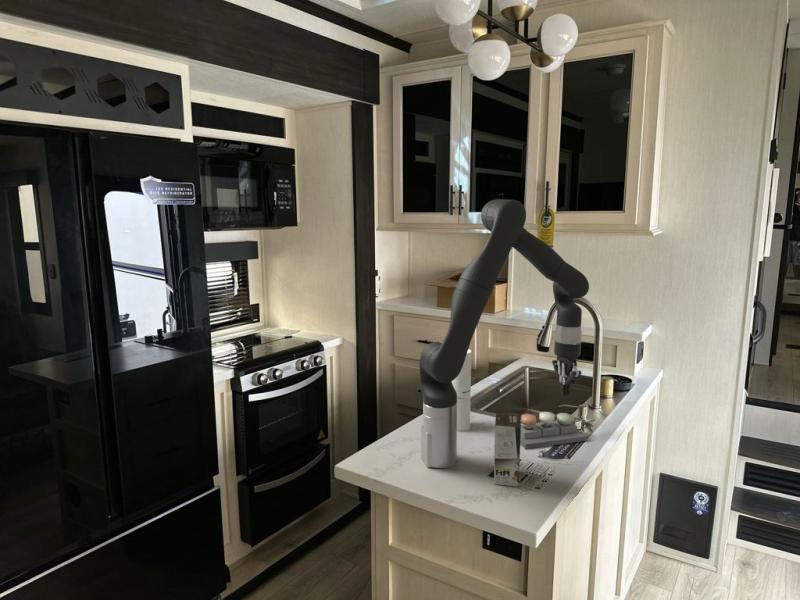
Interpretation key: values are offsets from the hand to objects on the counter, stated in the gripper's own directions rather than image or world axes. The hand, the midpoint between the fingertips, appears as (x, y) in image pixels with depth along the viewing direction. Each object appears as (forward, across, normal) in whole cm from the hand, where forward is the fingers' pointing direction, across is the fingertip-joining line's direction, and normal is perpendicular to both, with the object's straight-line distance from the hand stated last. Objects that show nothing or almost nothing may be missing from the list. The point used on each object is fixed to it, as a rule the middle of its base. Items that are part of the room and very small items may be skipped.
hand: (564, 395), depth 165 cm
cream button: (+9, 0, -6) cm, 11 cm away
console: (+13, 0, -6) cm, 14 cm away
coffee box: (+13, +19, -28) cm, 36 cm away
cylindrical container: (+13, -14, -29) cm, 34 cm away
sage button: (+10, 0, 0) cm, 10 cm away
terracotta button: (+9, 0, -12) cm, 15 cm away
